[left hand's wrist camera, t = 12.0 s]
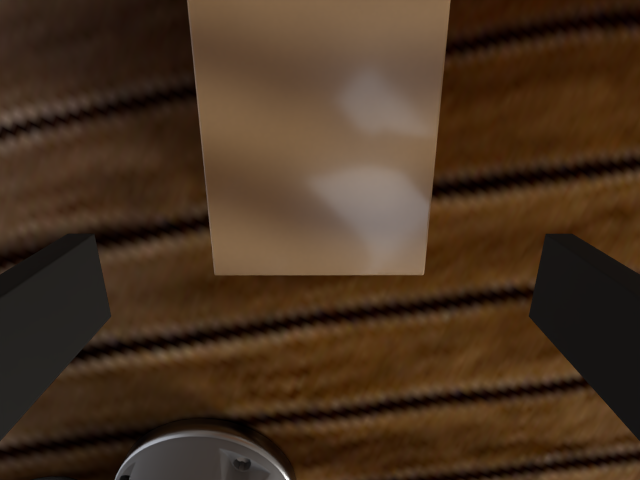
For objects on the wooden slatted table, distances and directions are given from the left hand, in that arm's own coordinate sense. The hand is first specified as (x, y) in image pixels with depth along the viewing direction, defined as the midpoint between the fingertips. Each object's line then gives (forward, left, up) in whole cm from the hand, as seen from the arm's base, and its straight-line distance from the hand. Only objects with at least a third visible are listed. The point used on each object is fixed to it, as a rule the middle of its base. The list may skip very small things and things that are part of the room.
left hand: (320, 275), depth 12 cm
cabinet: (+1, +6, -16) cm, 17 cm away
